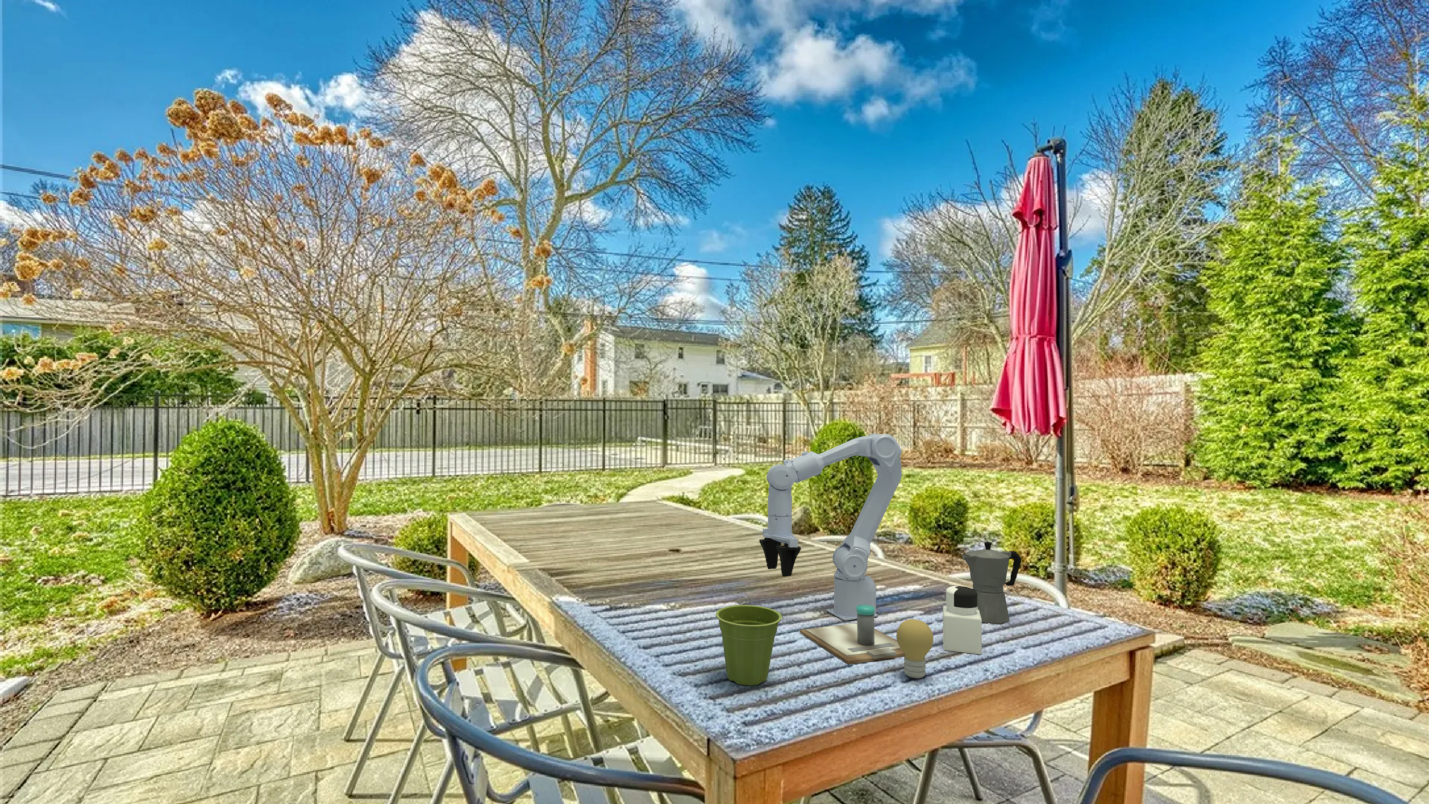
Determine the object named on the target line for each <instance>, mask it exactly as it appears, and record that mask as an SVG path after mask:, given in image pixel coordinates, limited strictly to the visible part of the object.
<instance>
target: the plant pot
mask: <svg viewBox="0 0 1429 804" xmlns="http://www.w3.org/2000/svg"><path fill="white" fill-rule="evenodd" d="M715 617H716V618H717V620H718V625H719V629H720V632H721V639H722V648H723V654H724V655H723V656H724V664H725V670H726V676H727V679H728V680H729V681H731V682H735V683H736V684H737V685H740V686H750V687H751V686H757V685H760V684H761V683H763V682H764V683H765V682H766V681H767V680H768V677H769V671H770V666H771V660H772V654H773V650H774V649H773V648H774V643H775V637H776V634H777V632H778V627H779V624H780V622H782V620H783V616H782V614H781V612H779V611H778V610H776V609H772V608H769V607H766V606H761V605H750V604H735V605H729V606H724V607H722V608H720V609H718V610H716V612H715Z"/></svg>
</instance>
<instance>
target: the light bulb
mask: <svg viewBox="0 0 1429 804" xmlns="http://www.w3.org/2000/svg"><path fill="white" fill-rule="evenodd" d="M896 640H897V642H898V644H899V646H900V648H901V650H902V651H903V652H904V654H905V656H903V661H904V662H903V666H904V667H903V673H904V674H905V675H906V676H907V677H909V678H912V679H922V678H923V677H925V676H926V674H927V673H926V672H927V671H926V669H927V668H926V662H927V661H926V659H925V657H926V656H927V655H928V654H929V652H931V650H932V647H933V645H934V634H933V631H932V629H931V628H930V626H929V625H928V624H927V623H926V622H924V621H923V620H920V619H918V618H917V619H916V618H910V619H905V620H904V621H902V622H901V623H900V624H899V625H898V627H897V631H896Z"/></svg>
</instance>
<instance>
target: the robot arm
mask: <svg viewBox="0 0 1429 804" xmlns="http://www.w3.org/2000/svg"><path fill="white" fill-rule="evenodd" d="M901 455H902V448H901V446H900V445H899V443H898V441H897V439H896V438H895V437H894V436H893V435H891V434H888V433H882V434H879V433H870V434H868V435H864V436H859V437H856V438H853V439H850V440H848V441H846V442H844V443H842V444H838V445H837V446H835V447H833V448H830V449H828V450H826V451H824V452H822V453H816V452H814V451H809V452H808V451H807V450H805V451H802V452H801V455H799V456H796V457H794V458H791V459H790V460H789V459H787V458H786V459H784V460H783V464H779V463H778V464H777V463H776V464H774V465H772V466H770V468H769V469H768V471H767V473H766V480H767V483H768V484H769V485H768V494H767V495H768V496H767V528H762V537H763V538H762V539H759V540H758V541H759V542H758V543H760V546H761V549H762V551H763V553H764V558H765V561H766V562H765V563H766V568H767V569H768V570H777V567H778V564H779V563H780V571H781V577H784V578H785V577H792V574H793V571H794V567H795V563H796V560H797V557H798V555H799V554H800V552H801V551H802V547H801V546H799V539H798V538H797V537H795V535H794V534H793V532H792V531H793V530H792V529H793V527H792V526H793V522H792V521H793V518H792V517H793V495H792V487H793V486H794V483H796V484H798V483H801V482H803V481H806V480H808V479H811V478H813V477H816V476H819V475H821V474H822V471H823V469H824V468H825V467H827V466H830V465H832V464H835V463H837V462H840V461H844V460H847V459H849V458H852V457H854V456H860V457H867V458H868V460H869V461H870V462H871V463H872V465H873V467H874V470H875V471H876V474H877V477H876V479H875V481H874V483H873V485H872V487H871V490H870V491H869V493H868V495H867V498H866V500H865V502H864V504H863V506H862V508H861V511H860V512H859V514H858V517H857V519H856V521H855V522H854V525H853V528H851V529H852V530H851V532H850V533H849V534H848V535H847V536H846V537H845V538H844V539H843V541H842V543H841V544H840V546H838V547H836V549H835V550H834V552H833V554H832V562H833V565H834V566H835V567H836V571H835V572H834V574H833V576H834V577H833V607H832V608H827V609H826V612H828V613H830V614H831V615H833V616H835V617H837V618H839V619H841V620H843V621H851V620H857V608H856V606H857V605H871V606H874V607H875V614H874V618H877V617H879V615H878V614H877V609H876V608H877V589H876V582H875V581H874V579H873V578H872V577H871V576H870V575H866V573H867V571H868V560H869V557H870V555H871V543H872V541H873V539H874V537H875V535H876V533H877V530H878V528H879V527H880V524H881V522H882V520H883V518H884V515H885V513H886V512H887V510H888V507H889V505H890V504H891V501H892V499H893V496H894V495H895V492H896V490H897V489H898V487H899V484H900V482H901V480H902V478H903V477H902V476H903V472H902V470H903V469H902V461H901ZM782 544H783V545H782ZM779 561H780V562H779ZM778 562H779V563H778Z"/></svg>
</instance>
